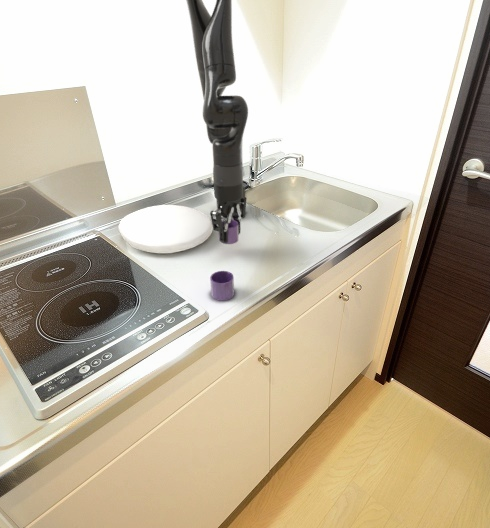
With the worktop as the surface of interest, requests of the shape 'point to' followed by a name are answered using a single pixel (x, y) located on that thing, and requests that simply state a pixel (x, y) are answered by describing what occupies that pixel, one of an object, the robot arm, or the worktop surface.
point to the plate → (165, 228)
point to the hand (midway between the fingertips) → (230, 237)
